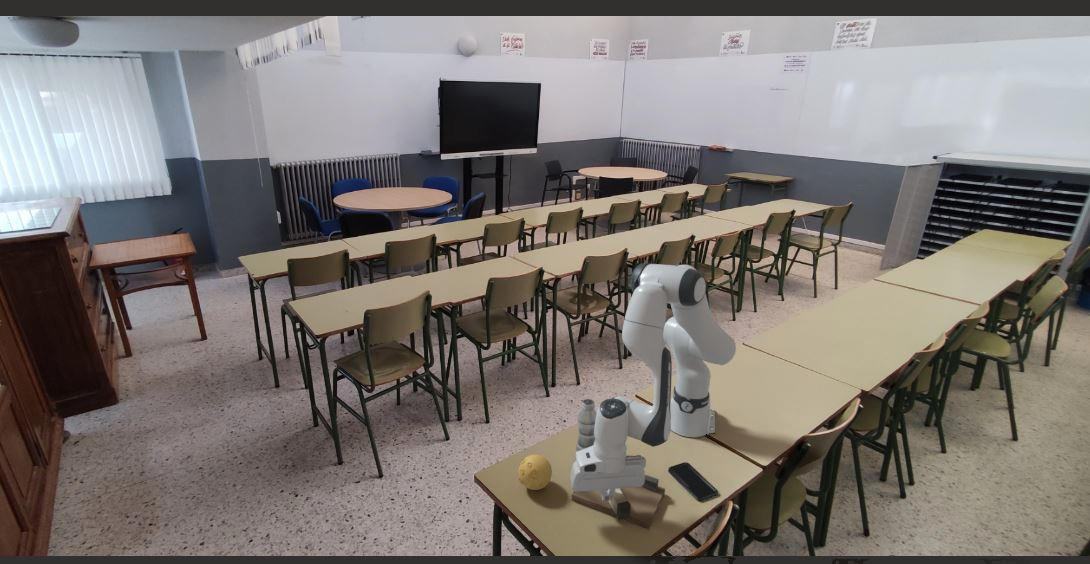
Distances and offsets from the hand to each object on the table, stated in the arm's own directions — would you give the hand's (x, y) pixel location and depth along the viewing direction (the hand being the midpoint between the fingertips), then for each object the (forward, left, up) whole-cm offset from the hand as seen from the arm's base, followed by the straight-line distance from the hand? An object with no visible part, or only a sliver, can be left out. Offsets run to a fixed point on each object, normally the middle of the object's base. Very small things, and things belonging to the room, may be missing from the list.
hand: (606, 499), depth 144 cm
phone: (-24, +19, -5) cm, 30 cm away
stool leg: (-4, -1, -2) cm, 5 cm away
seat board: (-7, +1, -4) cm, 8 cm away
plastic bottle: (-19, -14, -5) cm, 24 cm away
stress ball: (+1, -22, -5) cm, 23 cm away
